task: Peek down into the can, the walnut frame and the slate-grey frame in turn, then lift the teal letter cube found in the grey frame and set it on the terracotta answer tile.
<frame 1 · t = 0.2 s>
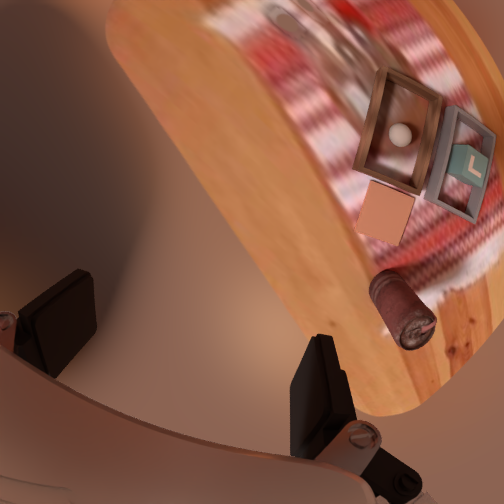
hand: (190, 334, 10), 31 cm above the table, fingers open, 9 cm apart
can: (385, 285, 42), on the table
bin walnut: (396, 130, 34), on the table
bin grey: (458, 164, 34), on the table
letter cube: (467, 165, 32), in the bin grey
answer tile: (384, 214, 38), on the table
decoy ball: (395, 135, 34), resting in bin walnut
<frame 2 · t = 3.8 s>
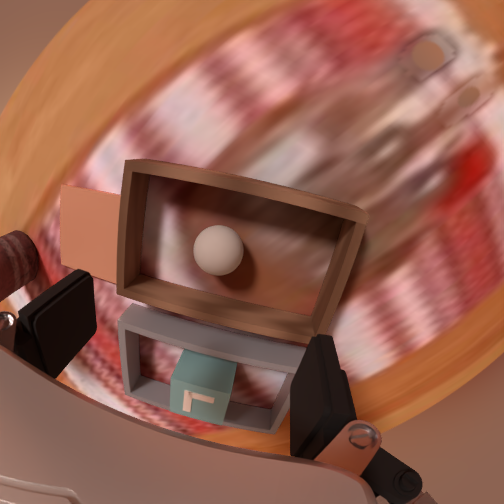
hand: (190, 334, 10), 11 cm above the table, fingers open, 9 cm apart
can: (26, 254, 24), on the table
bin walnut: (233, 245, 21), on the table
bin grey: (209, 368, 25), on the table
letter cube: (203, 385, 23), in the bin grey
answer tile: (92, 233, 22), on the table
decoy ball: (223, 242, 21), resting in bin walnut
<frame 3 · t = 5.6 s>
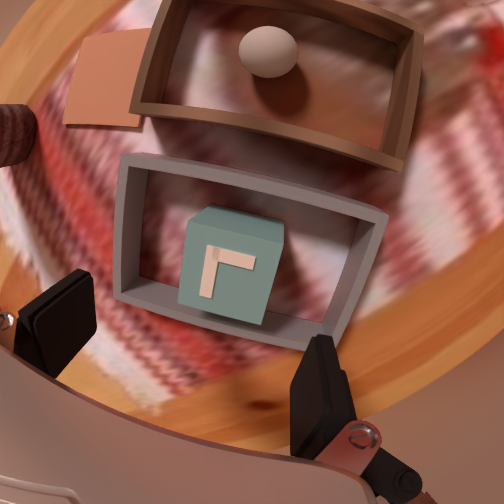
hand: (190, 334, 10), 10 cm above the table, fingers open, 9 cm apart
can: (22, 134, 18), on the table
bin walnut: (282, 63, 15), on the table
bin grey: (239, 246, 19), on the table
letter cube: (233, 259, 17), in the bin grey
answer tile: (109, 76, 16), on the table
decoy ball: (269, 60, 15), resting in bin walnut
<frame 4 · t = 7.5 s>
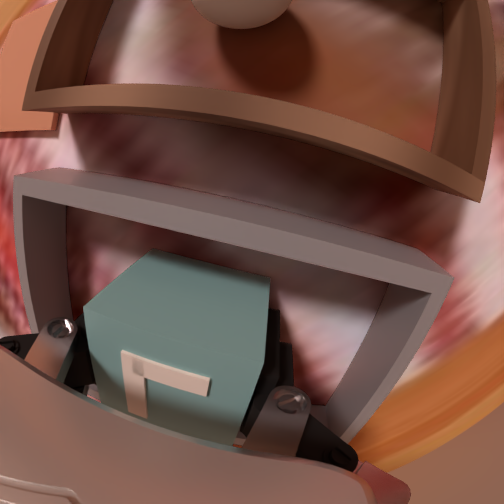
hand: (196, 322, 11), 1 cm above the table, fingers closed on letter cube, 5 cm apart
bin walnut: (267, 11, 7), on the table
bin grey: (200, 313, 12), on the table
letter cube: (184, 349, 9), in the bin grey, touching gripper
answer tile: (29, 64, 8), on the table
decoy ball: (247, 9, 7), resting in bin walnut
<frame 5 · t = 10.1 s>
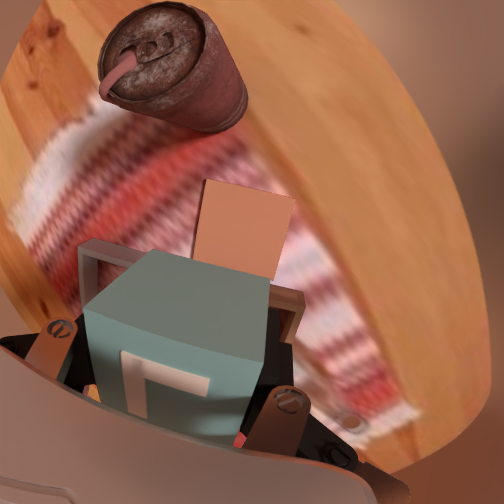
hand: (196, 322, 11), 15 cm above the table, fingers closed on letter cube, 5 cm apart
can: (214, 103, 22), on the table
bin walnut: (235, 343, 30), on the table
bin grey: (129, 312, 30), on the table
letter cube: (184, 350, 9), point 17 cm above the table, touching gripper
answer tile: (241, 230, 26), on the table
when the fingers open (3 cm above the table, at t = 13.1 s): letter cube drops 2 cm, resting on answer tile.
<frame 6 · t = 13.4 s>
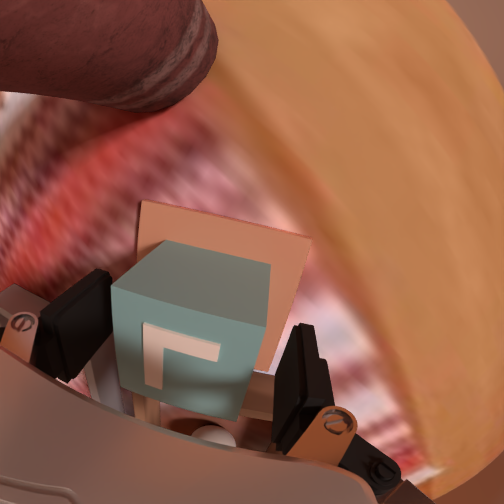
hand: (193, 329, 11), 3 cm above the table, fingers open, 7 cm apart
can: (157, 59, 10), on the table
bin walnut: (214, 434, 18), on the table
bin grey: (73, 381, 18), on the table
letter cube: (195, 327, 11), on the answer tile
answer tile: (210, 293, 14), on the table
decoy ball: (216, 429, 18), resting in bin walnut
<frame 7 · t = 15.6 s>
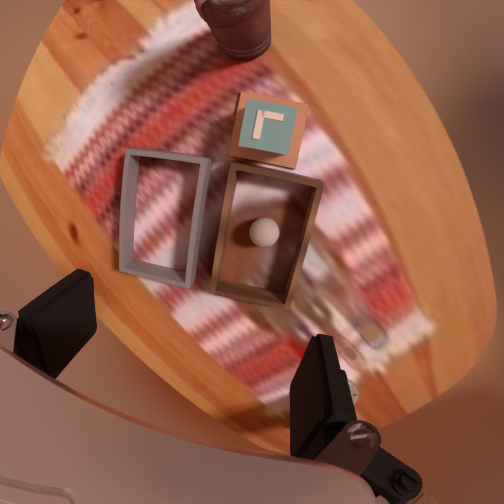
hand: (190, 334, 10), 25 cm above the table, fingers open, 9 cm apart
can: (245, 42, 26), on the table
bin walnut: (263, 234, 35), on the table
bin grey: (165, 214, 35), on the table
letter cube: (268, 128, 27), on the answer tile
answer tile: (268, 129, 30), on the table
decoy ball: (264, 228, 34), resting in bin walnut
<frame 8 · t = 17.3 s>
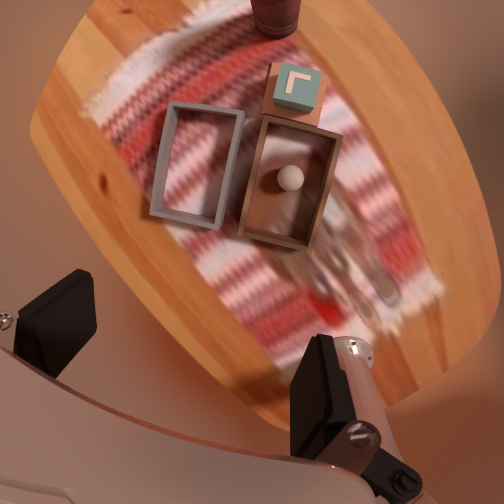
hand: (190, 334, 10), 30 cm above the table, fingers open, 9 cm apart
can: (275, 24, 30), on the table
bin walnut: (288, 182, 37), on the table
bin grey: (198, 163, 38), on the table
letter cube: (296, 88, 30), on the answer tile
answer tile: (295, 93, 33), on the table
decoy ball: (290, 177, 37), resting in bin walnut
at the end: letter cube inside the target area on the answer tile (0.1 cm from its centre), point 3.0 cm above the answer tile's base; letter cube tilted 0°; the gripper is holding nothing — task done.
